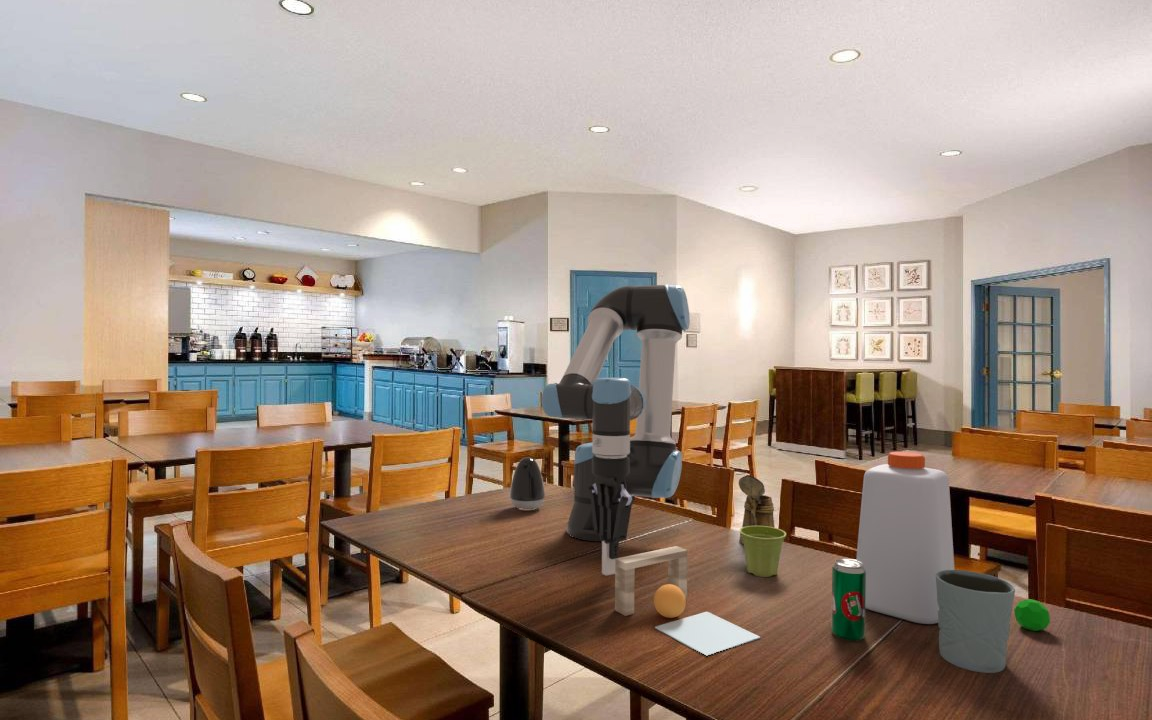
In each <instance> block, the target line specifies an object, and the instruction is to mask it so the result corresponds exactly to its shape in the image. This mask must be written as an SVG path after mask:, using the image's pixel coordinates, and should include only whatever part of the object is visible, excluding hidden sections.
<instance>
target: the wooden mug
mask: <svg viewBox="0 0 1152 720" xmlns="http://www.w3.org/2000/svg"><path fill="white" fill-rule="evenodd" d="M738 487H739V489H740V490H741V492H742V493H743V494H745V495H746V499H745V501H744V506H743V507H744V512H743V519H742V526H741V528H743V527H746V526H768V527H774V528H776V525H775V517H774V511H775V507H774V503H773V499H772V497H771V496H769V495H765V491H766V488H765V484H764V483H763V482H762V481H761V480H760V479H758V478H756V477H755V476H752V475H750V474H746V475H744V476H742V477H740V479H739V480H738ZM738 540H739V543H740V544H742V545H744V541H743V539H742V534H741V533H740V532H739V538H738Z"/></svg>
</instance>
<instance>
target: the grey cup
mask: <svg viewBox="0 0 1152 720" xmlns="http://www.w3.org/2000/svg"><path fill="white" fill-rule="evenodd" d="M936 587H937V603H938V606H939V610H938V623H937V624H938V628H939V631H938V635H939V636H938V643H939V644H938V645H939V646H938V647H939V649H938V651H939V654H940V656H941V658H942V659H944V660H945V661H946V662H947V663H949V664H951V665H953V666H956V667H958V668H961V669H963V670H968V671H970V672H971V671H972V672H978V673H983V674H984V673H985V674H995V673H999V672H1002V671H1004V670H1005V668H1006V663H1007V653H1008V642H1007V641H1008V640H1009V637H1010V630H1011V629H1010V627H1011V624H1010V623H1011V619H1012V612H1013V605H1014V601H1015V593H1016V588H1015V586H1014V585H1013V584H1012V583H1010V582H1008V581H1006V580H1004V579H1002V578H999V577H996V576H994V575H990V574H986V573H982V572H977V571H969V570H963V569H962V570H960V569H954V570H944V571H940V572H938V573H937V574H936Z"/></svg>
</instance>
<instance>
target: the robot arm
mask: <svg viewBox="0 0 1152 720" xmlns="http://www.w3.org/2000/svg"><path fill="white" fill-rule="evenodd" d="M586 320H587V321H586V322H587V323H586V324H587V328H586V330H585V331H584V333H583V336H582V337H581V339H580V341H579V343H578V345H577V347H576V349H575V351H574V353H573V355H572V358H571V359H570V362H569V363H568V366H567V368H566V370H565V372H564V374H563V375H562V377H561V380H560V381H559V383H557V382H554V383H548V384H546V385H545V386H544V388H543V389H542V394H541V407H542V409H543V413H544V414H545V416H548V417H551V418H559V419H574V420H575V419H578V420H592V430H591V431H592V432H591V433H592V442H587V443H583V444H580V445H578V446H577V447H576V448H575V451H574V462H573V466H574V469H573V471H574V473H573V475H574V477H573V479H574V480H573V481H574V482H573V483H574V484H573V486H574V487H573V495H574V496H573V497H574V500H573V505H572V509H571V512H570V514H569V517H568V521H567V524H566V534H567V533H568V534H569V535H571V536H573V537H575V538H574V539H576V538H578V539H577V540H580V539H582V540H581V541H586V540H587V542H589V541H590V542H601V545H600V547H601V548H600V549H601V550H600V553H601V574H602V575H604V576H605V577H606V576H611V575H615V559H616V558H619V547H620V546H619V545H620V544H619V543H620V542H623V541H626V540H627V536H628V530H629V524H630V519H631V512H632V506H633V504H634V503H635V499H636V497H646V498H652V499H657V498H660V499H661V498H662V499H663V498H664V499H667V498H671V497H672V496H674V495H675V493H676V491H677V488H678V485H679V482H680V478H681V474H682V468H683V462H682V461H683V455H682V454H683V453H682V452H681V451H680V450H678V449H677V447H676V446H677V444H676V442H675V440H673V438H672V437H671V430H672V429H671V428H672V412H673V411H672V410H673V395H674V391H673V390H674V379H675V378H674V375H675V360H676V344H677V342H679V341H680V340H681V339H682V338H683V331H686V330H689V328H690V323H691V322H690V308H689V302H688V298H687V293H686V291H685V289H684V287H682V286H681V285H679V284H666V283H664V284H655V285H653V284H652V285H651V284H650V285H625V286H624V285H623V286H620V287H618V288H616V289H614V290H612V291H610V292H608V293H607V294H606V295H604V296H603V297H601V298H600V300H599V301H597V303H596V304H595V305H594V306H593V307H592V309H591V311H590V312H589V314H588V316H587V319H586ZM630 330H631V331H636V336H637V338H638V339H639V340H640V341H641V352H640V353H641V354H640V365H639V367H640V368H639V379H638V380H639V381H638V382H639V383H638V386H636V385H633V384H631V381H630V380H629V379H628V378H626V377H599V376H600V373H601V371H602V370H603V368H604V367H603V366H604V364H605V362H606V359H607V358H608V355H609V352H610V350H611V348H612V346H613V344H614V342H615V339H616V338H618V337H620V336H621V335H622V333H623V332H624V331H630ZM635 419H636V424H635V425H636V427H635V434H634V435H633V436H632V437H631V434H630V433H631V421H632V420H635ZM635 496H636V497H635ZM568 534H567V535H568ZM569 535H568V536H569ZM571 536H570V537H571ZM573 537H572V538H573Z"/></svg>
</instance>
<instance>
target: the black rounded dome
mask: <svg viewBox="0 0 1152 720" xmlns="http://www.w3.org/2000/svg"><path fill="white" fill-rule="evenodd" d="M542 475H543V474H542V472H541V468H540V467H539V464H538V463H537V461H536V460H535V459H534V458H532V457H523V458H521V459H520V460H519V461H518V463H517V464H516V467H515V470H514V473H513V476H512V480H511V484H510V485H511V486H510V489H509V491H510V492H509V498H510V501H511V504H512V506H513V505H514V506H515V507H518V508H523V509H534V508H538V507H539V508H541V506H542V504H543V503H544V498H545V497H546V491H545V484H544V483H545V482H544V480H543V476H542ZM515 507H514V508H515ZM539 508H538V509H539Z"/></svg>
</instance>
